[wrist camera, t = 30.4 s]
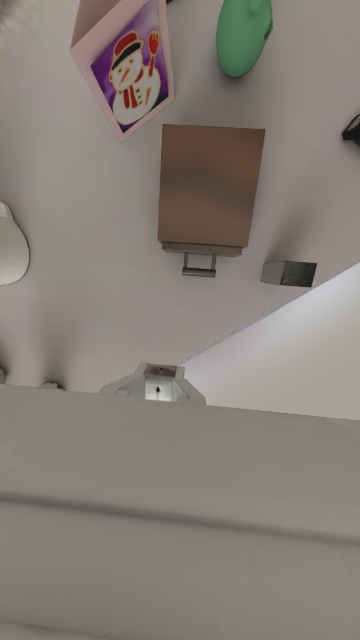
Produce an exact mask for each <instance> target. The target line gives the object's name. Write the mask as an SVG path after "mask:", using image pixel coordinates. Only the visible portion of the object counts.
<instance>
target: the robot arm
mask: <svg viewBox="0 0 360 640" xmlns="http://www.w3.org/2000/svg"><path fill="white" fill-rule="evenodd" d="M28 263H29V249H28V245H27V242H26V239H25V237H24V235H23V233H22V232H21V230H20V229H19V227H18V226H17V225H16V223H15V222H14V220H13V217H12V214H11V211H10V209H9V207H8V205H7V204H6V203H3V202H0V286H1V285H5V284H10V283H13V282H16V281H17V280H19V279H20V278H21V277H22V276H23V275H24V273H25V272H26V270H27V267H28ZM184 369H185V367H181V366H169V365H158V364H148V363H140V365H139V366H138V368H137V370H136V372H135V374H131V375H129V376H127V377H124V378H122V379H120V380H118V381H116V382H113V383H111V384H109V385H107V386H104V387H103V388H102V389H101V390H100V392H99V393H98V394H93V393H83V392H74V391H64V390H54V389H44V388H34V387H25V386H15V385H5V384H0V640H360V421H358V420H347V419H337V418H327V417H316V416H308V415H298V414H288V413H278V412H268V411H259V410H249V409H239V408H229V407H219V406H210V405H206V402H205V397H204V396H203V395H202V394H201V393H199V391H197V390H196V389H195V388H194V387H193V386H192V385H191V384H190V383H189V382H188V381H187V380H186V379H184Z"/></svg>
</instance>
